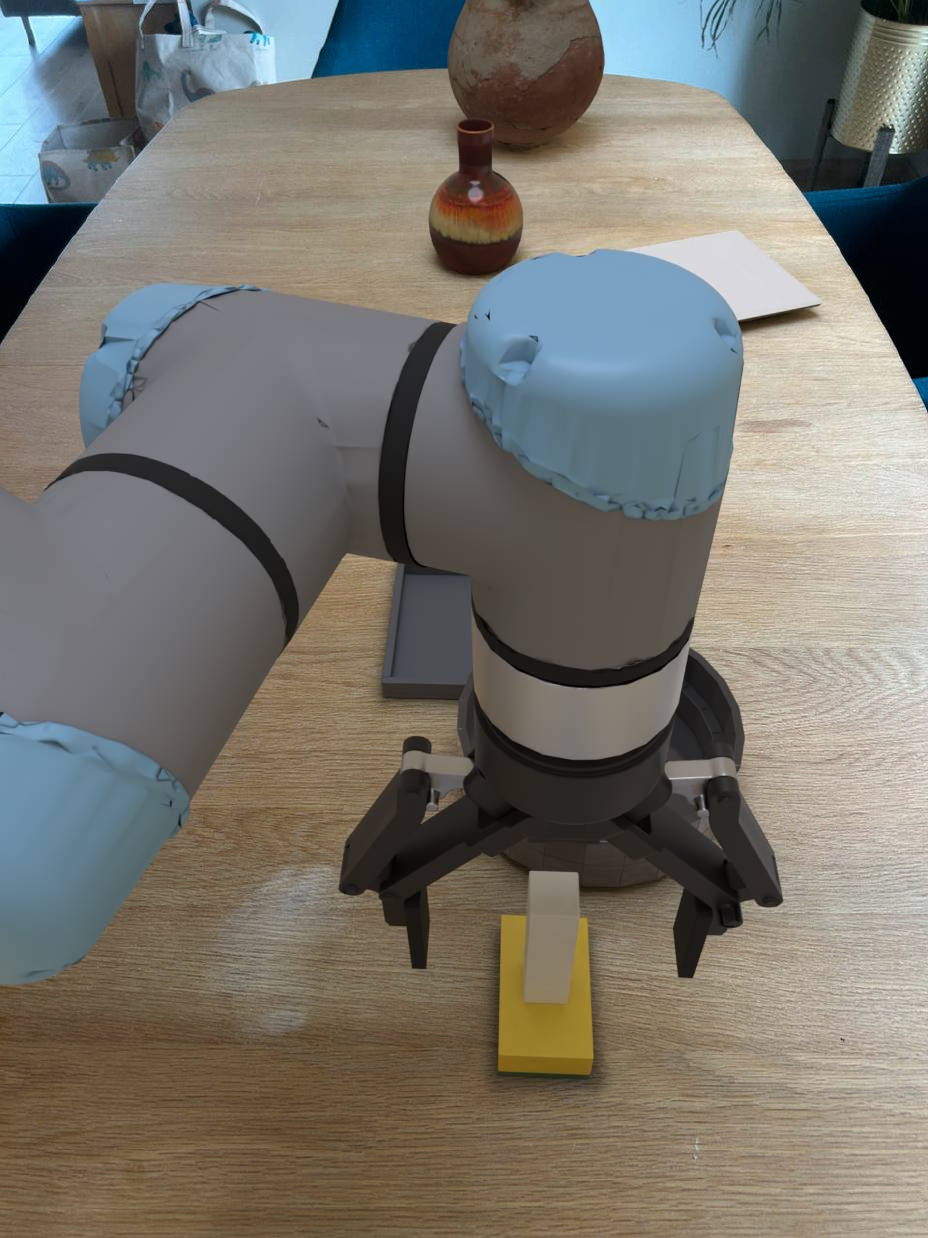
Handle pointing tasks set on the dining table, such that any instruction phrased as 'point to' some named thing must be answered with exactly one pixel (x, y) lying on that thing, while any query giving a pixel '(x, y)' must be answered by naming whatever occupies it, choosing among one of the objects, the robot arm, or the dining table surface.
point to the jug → (526, 66)
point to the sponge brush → (546, 983)
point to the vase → (475, 207)
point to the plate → (737, 273)
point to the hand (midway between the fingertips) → (551, 949)
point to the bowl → (697, 724)
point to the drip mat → (428, 634)
